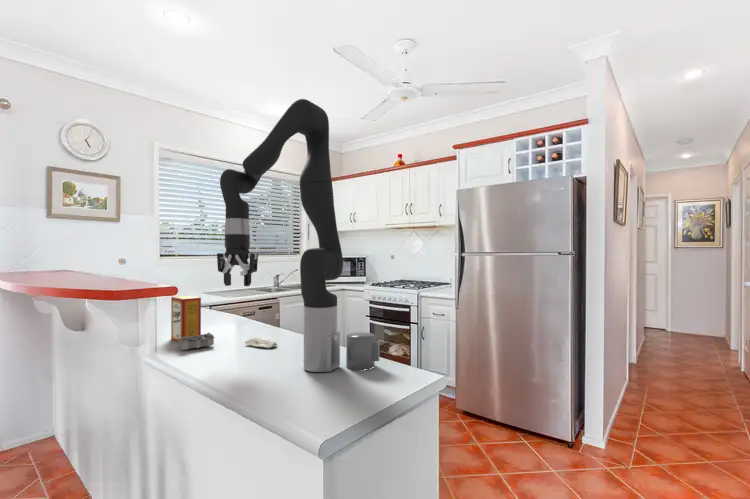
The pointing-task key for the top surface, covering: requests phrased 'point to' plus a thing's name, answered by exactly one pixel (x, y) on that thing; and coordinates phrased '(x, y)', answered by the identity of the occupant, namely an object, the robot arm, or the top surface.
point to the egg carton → (196, 341)
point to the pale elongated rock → (261, 342)
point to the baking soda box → (185, 317)
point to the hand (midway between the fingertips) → (237, 285)
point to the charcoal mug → (361, 351)
